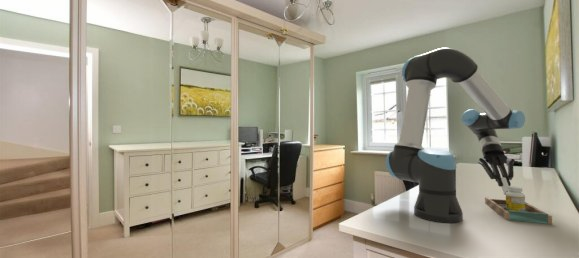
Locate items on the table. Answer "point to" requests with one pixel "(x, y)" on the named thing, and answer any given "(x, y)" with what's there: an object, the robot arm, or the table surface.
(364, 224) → the table surface
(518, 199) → the supplement bottle
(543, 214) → the wooden tray
